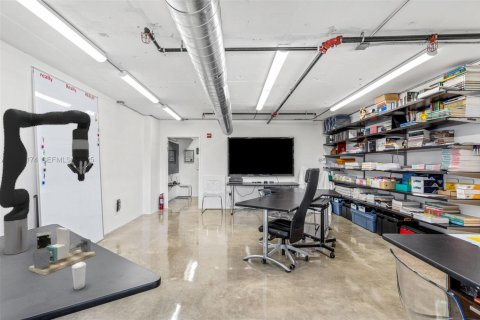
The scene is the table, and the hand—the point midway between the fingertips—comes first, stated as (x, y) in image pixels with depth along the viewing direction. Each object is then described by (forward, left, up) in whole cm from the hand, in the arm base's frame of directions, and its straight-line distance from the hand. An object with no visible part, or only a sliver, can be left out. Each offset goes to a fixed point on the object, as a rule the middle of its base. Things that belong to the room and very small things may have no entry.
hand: (81, 181), depth 126 cm
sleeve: (+7, -15, -34) cm, 38 cm away
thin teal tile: (+7, -18, -34) cm, 39 cm away
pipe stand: (+7, -13, -37) cm, 40 cm away
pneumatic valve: (-13, -11, -37) cm, 41 cm away
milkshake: (+36, -25, -37) cm, 57 cm away
